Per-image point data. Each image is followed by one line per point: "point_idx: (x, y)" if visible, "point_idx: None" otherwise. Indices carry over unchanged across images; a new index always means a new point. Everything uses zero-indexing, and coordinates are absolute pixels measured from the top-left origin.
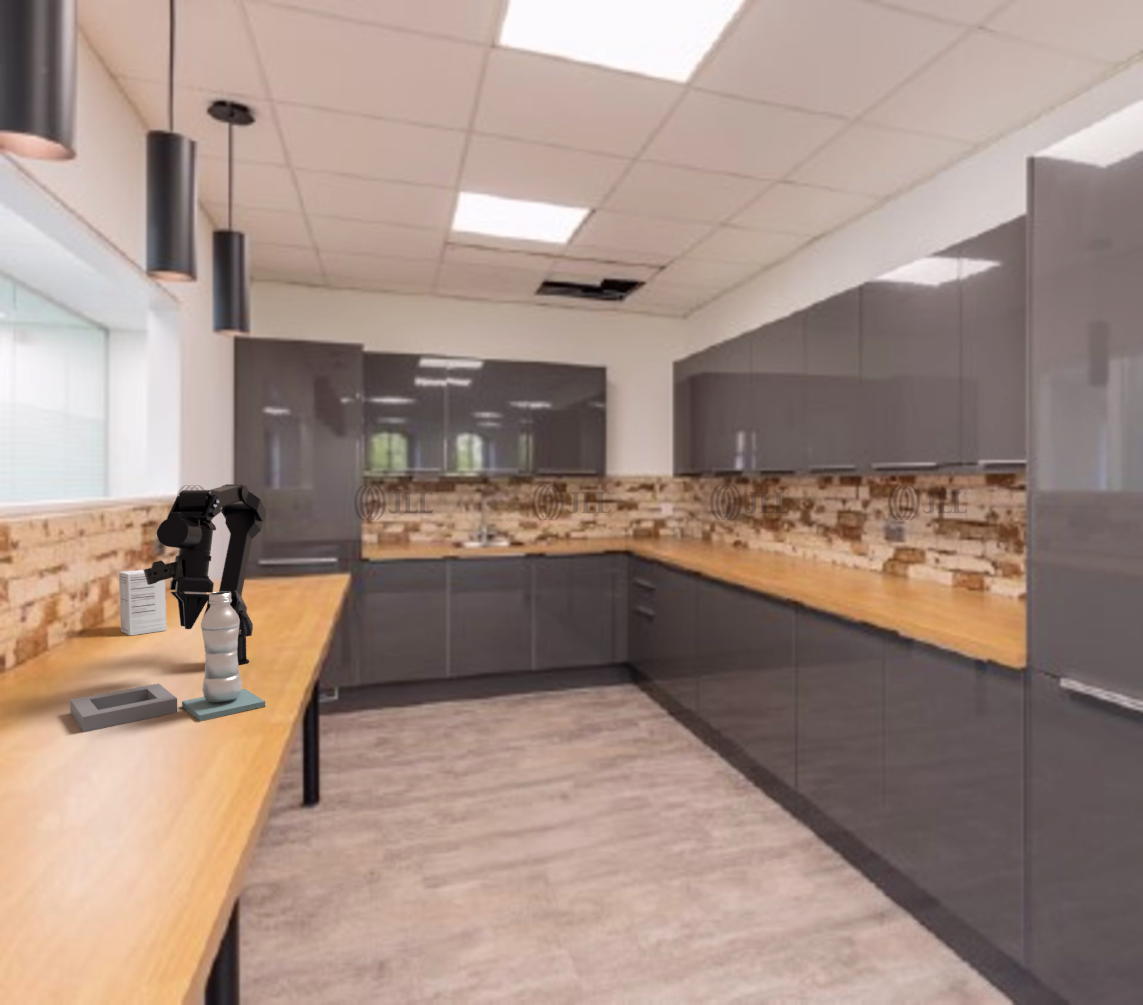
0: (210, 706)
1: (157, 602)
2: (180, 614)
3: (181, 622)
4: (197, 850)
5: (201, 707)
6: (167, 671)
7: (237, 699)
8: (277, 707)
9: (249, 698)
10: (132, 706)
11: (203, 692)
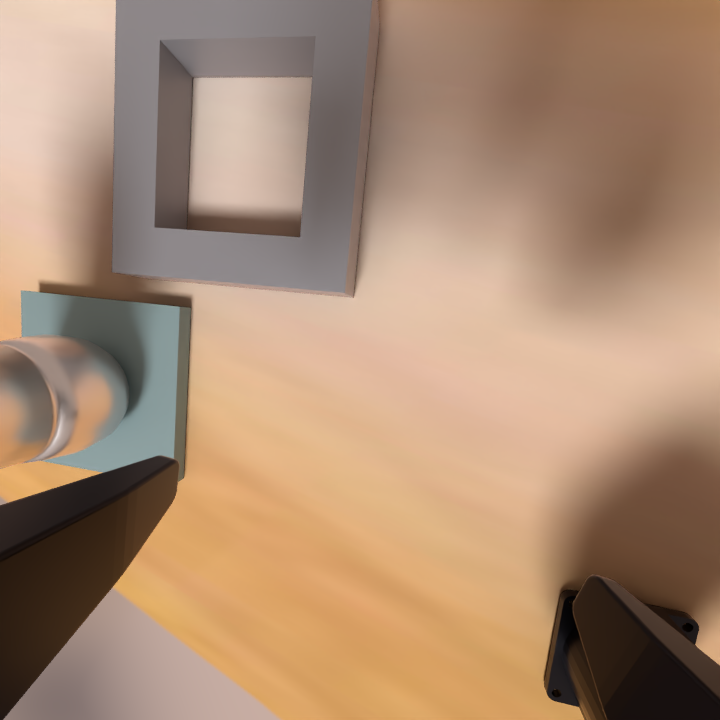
0: None
1: None
2: (711, 707)
3: (613, 606)
4: None
5: (82, 321)
6: (708, 447)
7: None
8: (18, 467)
9: None
10: (121, 139)
11: (58, 335)
